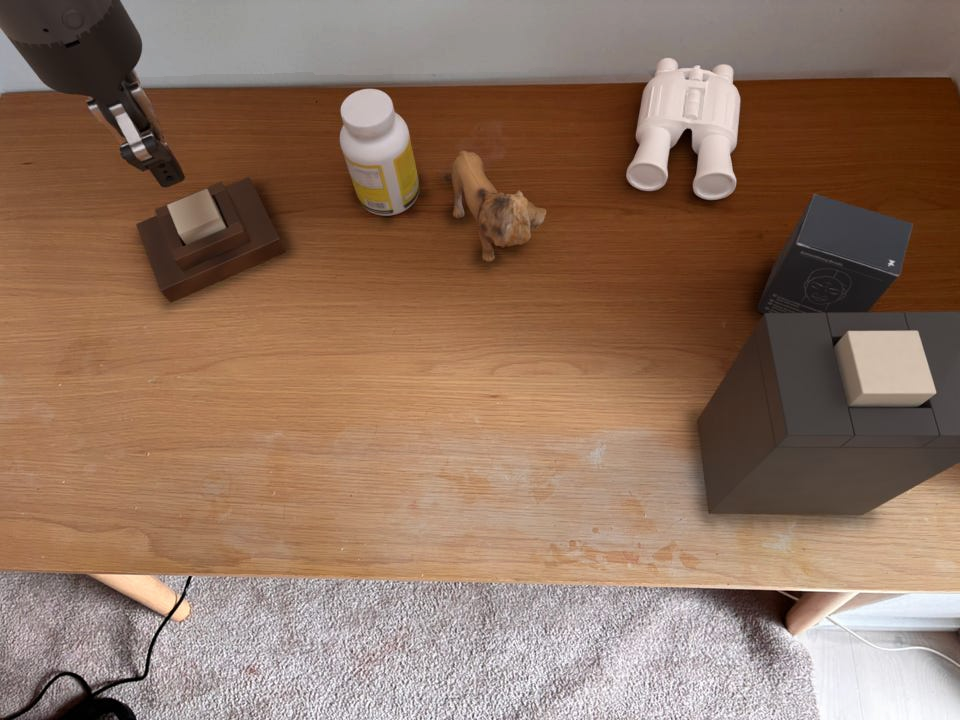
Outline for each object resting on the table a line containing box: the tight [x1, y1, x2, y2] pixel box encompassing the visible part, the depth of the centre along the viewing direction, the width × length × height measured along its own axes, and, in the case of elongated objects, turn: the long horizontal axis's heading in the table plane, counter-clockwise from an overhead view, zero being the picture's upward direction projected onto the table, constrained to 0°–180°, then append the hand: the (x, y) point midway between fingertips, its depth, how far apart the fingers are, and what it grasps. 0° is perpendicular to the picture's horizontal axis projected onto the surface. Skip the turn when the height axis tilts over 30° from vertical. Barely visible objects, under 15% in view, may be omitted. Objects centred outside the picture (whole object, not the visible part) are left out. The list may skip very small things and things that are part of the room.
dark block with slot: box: [696, 311, 960, 516], centre depth 48 cm, size 12×8×18 cm, turn 89°
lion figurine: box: [443, 150, 547, 263], centre depth 64 cm, size 15×5×9 cm, turn 35°
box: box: [756, 193, 914, 315], centre depth 58 cm, size 8×6×11 cm
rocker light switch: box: [135, 176, 286, 303], centre depth 67 cm, size 12×9×4 cm
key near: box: [834, 331, 936, 407], centre depth 40 cm, size 4×4×2 cm
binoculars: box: [625, 57, 741, 201], centre depth 70 cm, size 10×16×5 cm, turn 167°
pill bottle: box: [339, 88, 420, 217], centre depth 66 cm, size 6×6×12 cm
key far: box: [167, 188, 226, 245], centre depth 65 cm, size 4×4×2 cm
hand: (172, 178), depth 61 cm, fingers closed
